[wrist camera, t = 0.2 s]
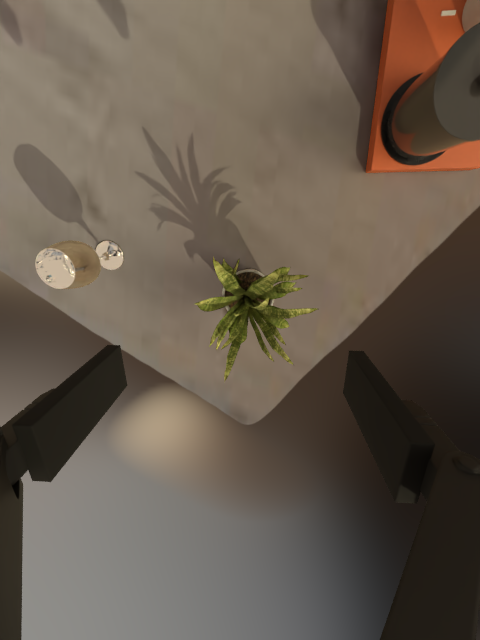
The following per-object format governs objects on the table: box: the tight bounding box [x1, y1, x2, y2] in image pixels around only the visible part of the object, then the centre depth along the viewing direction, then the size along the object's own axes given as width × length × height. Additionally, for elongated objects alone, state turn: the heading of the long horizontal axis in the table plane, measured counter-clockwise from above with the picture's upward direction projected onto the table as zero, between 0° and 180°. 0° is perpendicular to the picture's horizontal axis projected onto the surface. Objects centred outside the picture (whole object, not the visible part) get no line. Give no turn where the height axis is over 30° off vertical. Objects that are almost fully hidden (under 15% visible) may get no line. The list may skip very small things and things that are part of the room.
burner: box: [381, 73, 445, 166], centre depth 32 cm, size 9×9×1 cm
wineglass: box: [35, 240, 124, 289], centre depth 37 cm, size 6×6×12 cm
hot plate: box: [366, 0, 480, 173], centre depth 31 cm, size 19×14×2 cm
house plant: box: [195, 257, 317, 382], centre depth 35 cm, size 14×14×16 cm
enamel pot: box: [387, 23, 480, 159], centre depth 27 cm, size 8×8×11 cm
